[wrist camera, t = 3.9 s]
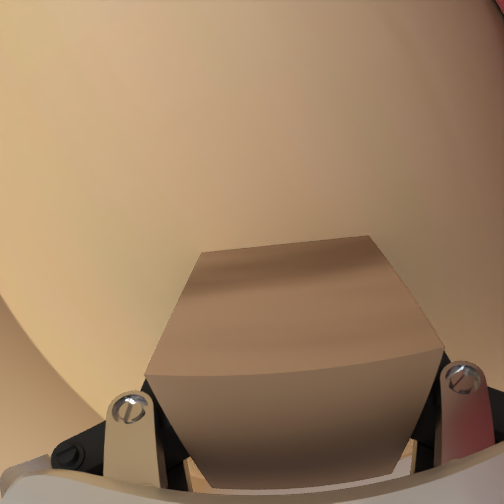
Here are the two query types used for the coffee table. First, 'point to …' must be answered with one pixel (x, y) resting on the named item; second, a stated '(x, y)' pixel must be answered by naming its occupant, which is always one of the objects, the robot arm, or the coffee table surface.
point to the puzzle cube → (500, 5)
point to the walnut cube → (295, 365)
